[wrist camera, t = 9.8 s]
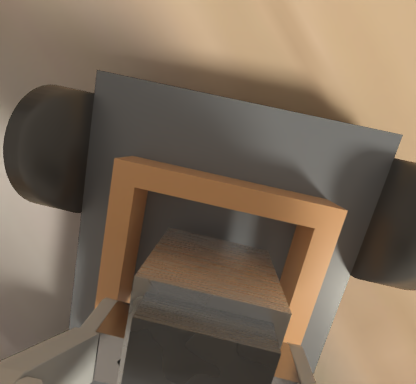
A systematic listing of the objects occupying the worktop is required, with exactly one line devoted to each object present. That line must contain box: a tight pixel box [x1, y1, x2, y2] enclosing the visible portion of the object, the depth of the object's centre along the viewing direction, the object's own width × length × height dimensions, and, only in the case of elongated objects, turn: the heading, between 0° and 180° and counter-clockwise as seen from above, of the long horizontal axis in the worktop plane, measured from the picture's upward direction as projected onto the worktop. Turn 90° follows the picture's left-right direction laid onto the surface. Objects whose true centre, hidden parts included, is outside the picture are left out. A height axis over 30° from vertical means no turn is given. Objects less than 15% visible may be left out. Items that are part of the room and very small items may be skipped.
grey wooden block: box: [117, 228, 292, 384], centre depth 9 cm, size 6×4×5 cm
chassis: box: [3, 70, 416, 384], centre depth 14 cm, size 24×18×6 cm
